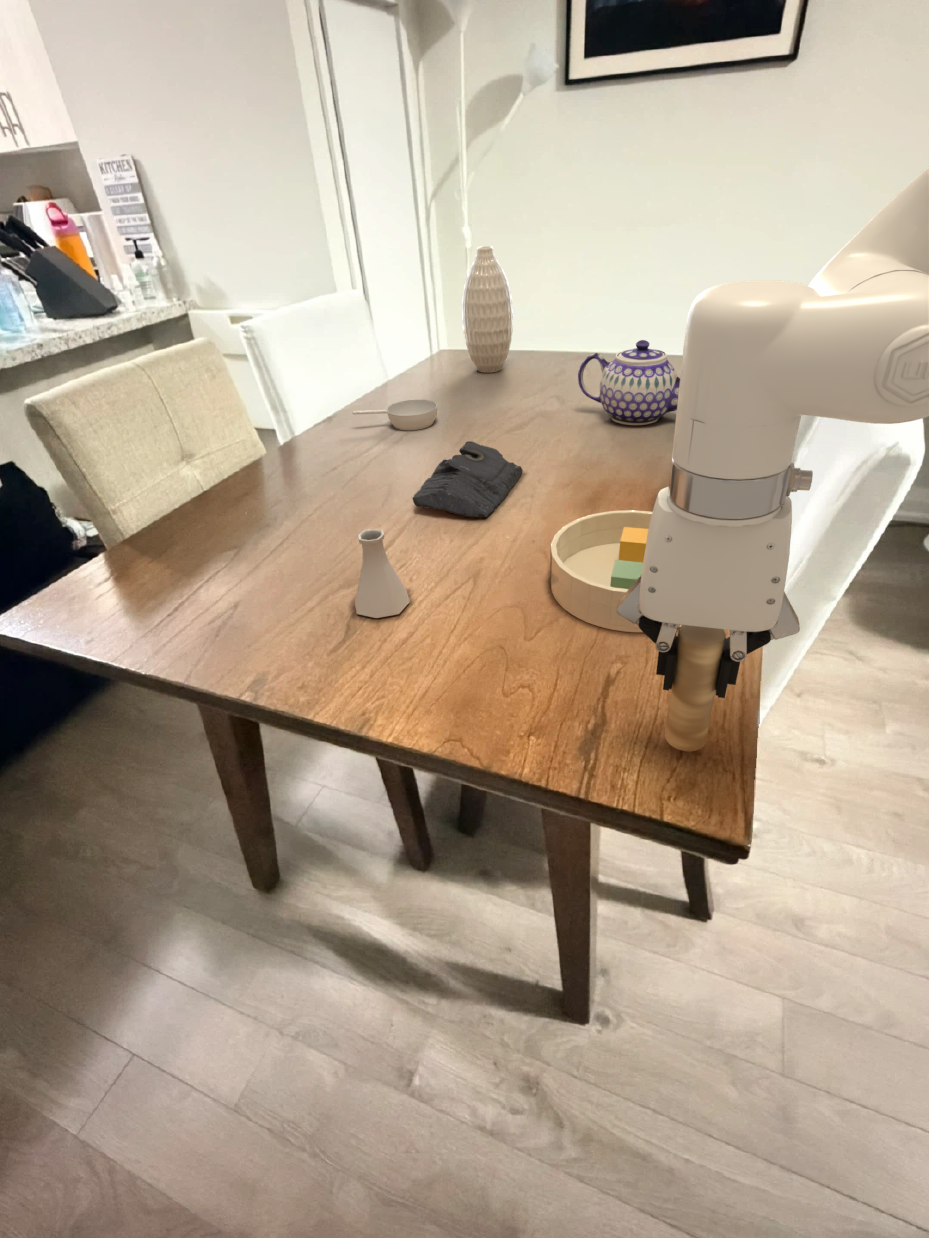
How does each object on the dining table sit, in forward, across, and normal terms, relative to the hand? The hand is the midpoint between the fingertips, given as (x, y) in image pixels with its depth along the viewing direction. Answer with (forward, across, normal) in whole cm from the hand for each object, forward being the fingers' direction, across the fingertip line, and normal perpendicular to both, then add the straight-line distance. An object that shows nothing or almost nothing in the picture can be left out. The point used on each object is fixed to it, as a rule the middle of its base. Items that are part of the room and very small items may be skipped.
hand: (694, 681), depth 55 cm
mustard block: (+7, +8, -31) cm, 33 cm away
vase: (+8, +55, -124) cm, 136 cm away
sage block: (+7, +8, -23) cm, 25 cm away
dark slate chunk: (+8, +38, -51) cm, 64 cm away
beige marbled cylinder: (+7, 0, 0) cm, 7 cm away
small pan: (+7, +63, -80) cm, 102 cm away
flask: (+8, +38, -16) cm, 42 cm away
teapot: (+8, +14, -91) cm, 92 cm away
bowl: (+8, +8, -27) cm, 29 cm away
